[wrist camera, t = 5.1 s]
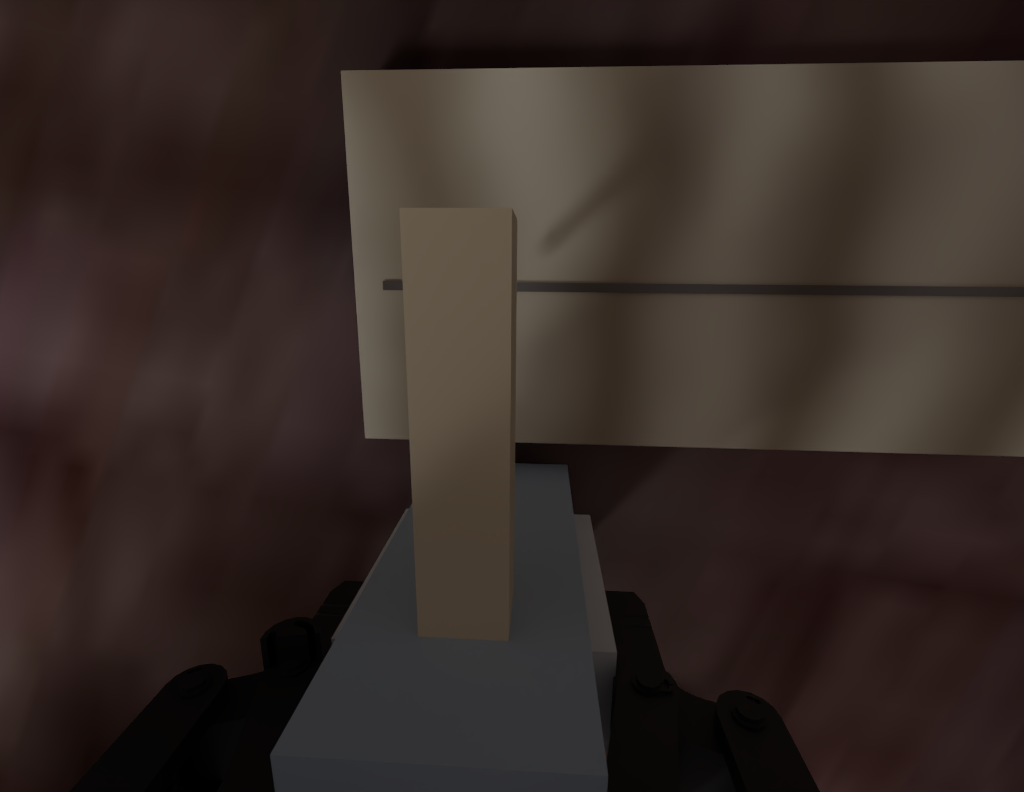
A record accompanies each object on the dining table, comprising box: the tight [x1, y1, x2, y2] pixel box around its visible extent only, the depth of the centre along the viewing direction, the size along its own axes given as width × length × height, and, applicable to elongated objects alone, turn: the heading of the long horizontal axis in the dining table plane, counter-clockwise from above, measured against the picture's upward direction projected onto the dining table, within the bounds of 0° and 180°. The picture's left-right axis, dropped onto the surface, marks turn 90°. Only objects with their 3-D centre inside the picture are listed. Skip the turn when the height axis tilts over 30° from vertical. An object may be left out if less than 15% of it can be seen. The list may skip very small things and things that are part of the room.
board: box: [341, 61, 1024, 457], centre depth 17 cm, size 30×12×2 cm, turn 90°
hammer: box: [270, 208, 608, 792], centre depth 13 cm, size 5×13×12 cm, turn 0°
